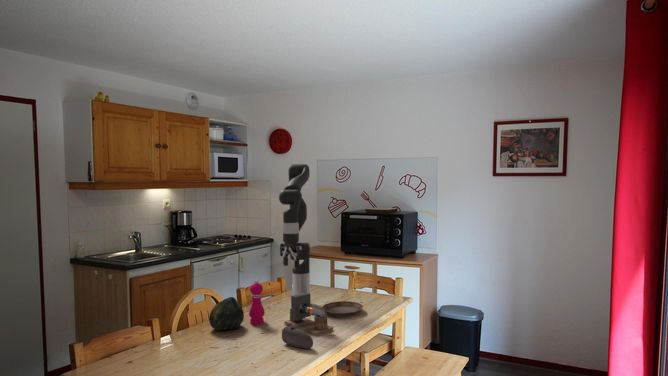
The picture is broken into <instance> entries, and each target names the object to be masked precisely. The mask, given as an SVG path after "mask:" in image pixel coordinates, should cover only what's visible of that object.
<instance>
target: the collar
mask: <svg viewBox="0 0 668 376" xmlns="http://www.w3.org/2000/svg"><path fill="white" fill-rule="evenodd" d="M290 304H291V305H290V307H291V308H290V309H291V319H293V320H299V319H302V318H308V317H311V316H312V315H310V314H308V313H305V312H302V311H300V305H301V304H302V305H305V306H309V307H312V306H311V304H312V303H311V292H310V293H302V294H297V295H293V296H292V295H291V296H290Z"/></svg>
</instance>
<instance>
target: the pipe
mask: <svg viewBox="0 0 668 376" xmlns="http://www.w3.org/2000/svg"><path fill="white" fill-rule="evenodd" d="M300 311H302V312H305V313H308V314H310V315H311V316H314V317H315V316H318V317H321V318H322V317H324V316H325V315H327V314H326V313H325V311H323V310H321V309H318V308H316V307H313V306H311V307H309V306H305V305H302V304H301V305H300Z"/></svg>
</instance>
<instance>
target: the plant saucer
mask: <svg viewBox="0 0 668 376" xmlns="http://www.w3.org/2000/svg"><path fill="white" fill-rule="evenodd" d="M363 308H364V305H363V304H361V303H359V302H356V301H350V300H347V301H346V300H341V301H332V302H328V303H326V304H323V305H322V307H321V309H322V311H325V313H326V315H327V316H329V317H332V318H343V319H344V318H350V317H351V318H352V317H354V316H355V317H356V315H359V313H360V312H361V311H362V310H363Z"/></svg>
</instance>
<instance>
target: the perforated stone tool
mask: <svg viewBox="0 0 668 376" xmlns="http://www.w3.org/2000/svg"><path fill="white" fill-rule="evenodd" d="M281 339H282V341H283V342H284V343H285V344H287V345H289V346H291V347H296V348H298V349H299V348H300V349H306V350H307V349H311V348H312V347H313V345H314V341H313V338H312V337H311V334H309V333H306V332H304V331H302V330H300V329H297V328H294V327H290V326H287V325H286V326H284V327H283V329H282V330H281Z"/></svg>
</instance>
